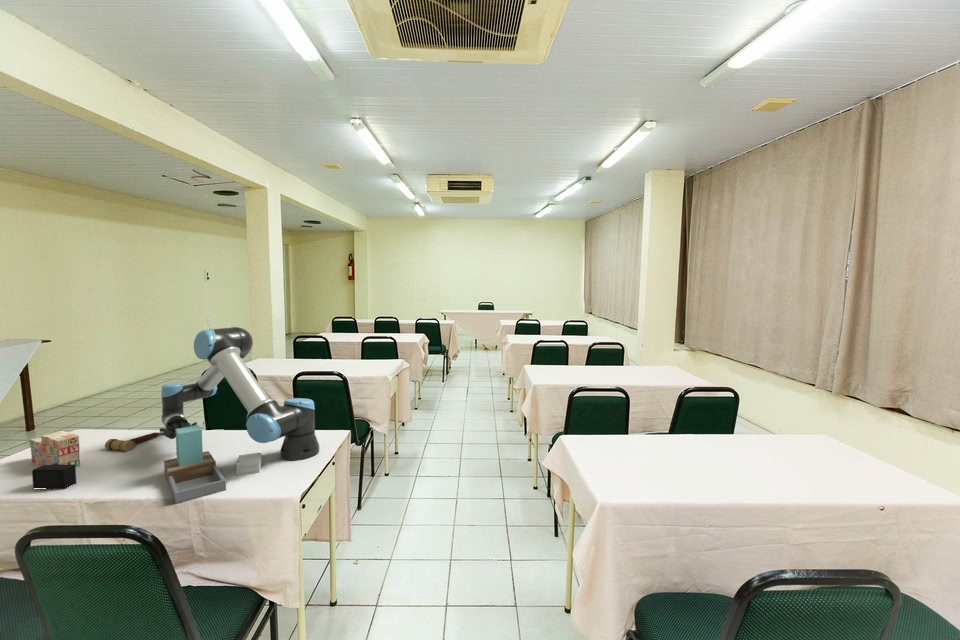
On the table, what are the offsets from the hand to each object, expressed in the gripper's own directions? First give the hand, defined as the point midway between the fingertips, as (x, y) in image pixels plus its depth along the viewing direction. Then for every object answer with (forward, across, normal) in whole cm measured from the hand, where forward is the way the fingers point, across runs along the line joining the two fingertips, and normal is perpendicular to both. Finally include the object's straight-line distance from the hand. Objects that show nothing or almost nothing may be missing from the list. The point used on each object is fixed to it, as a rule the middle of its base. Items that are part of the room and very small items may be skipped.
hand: (185, 439), depth 158 cm
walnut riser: (+9, 0, -11) cm, 14 cm away
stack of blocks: (-35, +37, -11) cm, 52 cm away
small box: (+19, -17, -11) cm, 28 cm away
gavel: (-43, +11, -12) cm, 46 cm away
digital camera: (-11, +35, -11) cm, 39 cm away
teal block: (+9, 0, -6) cm, 10 cm away
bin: (+23, 0, -11) cm, 26 cm away
